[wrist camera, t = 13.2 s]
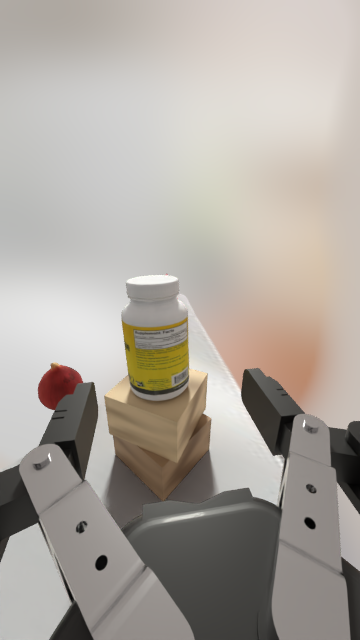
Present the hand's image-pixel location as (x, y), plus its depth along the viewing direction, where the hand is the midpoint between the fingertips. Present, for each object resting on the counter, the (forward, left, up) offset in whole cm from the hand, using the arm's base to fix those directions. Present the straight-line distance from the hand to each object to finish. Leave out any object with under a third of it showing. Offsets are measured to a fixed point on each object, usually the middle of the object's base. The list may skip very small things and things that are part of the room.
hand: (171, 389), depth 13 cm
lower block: (+5, +9, -18) cm, 21 cm away
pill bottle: (+5, +9, -8) cm, 13 cm away
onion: (-2, +24, -18) cm, 30 cm away
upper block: (+5, +9, -13) cm, 17 cm away
